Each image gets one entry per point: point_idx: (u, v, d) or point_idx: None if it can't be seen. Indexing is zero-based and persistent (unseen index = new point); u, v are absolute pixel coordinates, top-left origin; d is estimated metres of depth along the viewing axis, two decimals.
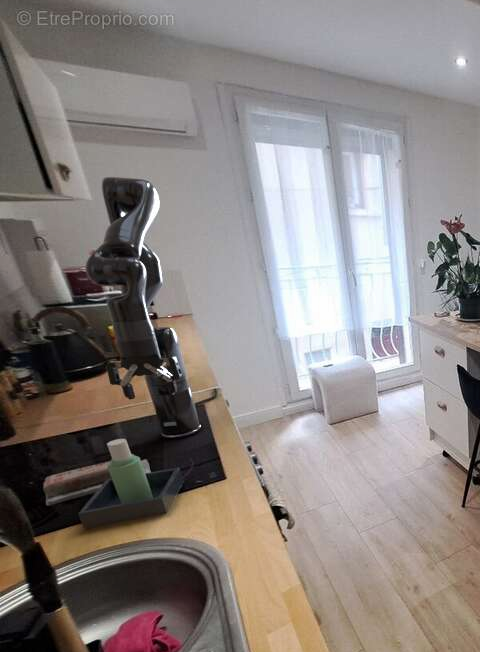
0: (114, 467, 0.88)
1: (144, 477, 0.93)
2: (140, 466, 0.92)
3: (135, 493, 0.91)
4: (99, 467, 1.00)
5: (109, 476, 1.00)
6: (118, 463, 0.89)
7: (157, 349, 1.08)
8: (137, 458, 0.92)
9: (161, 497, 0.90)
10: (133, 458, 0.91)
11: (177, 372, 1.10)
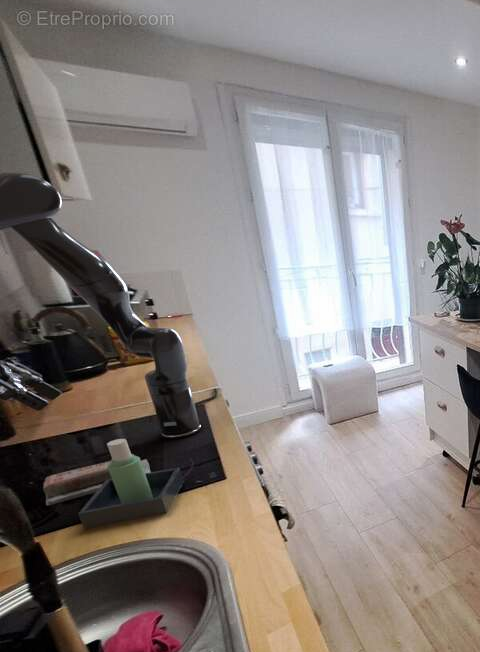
0: (114, 467, 0.88)
1: (144, 477, 0.93)
2: (140, 466, 0.92)
3: (135, 493, 0.91)
4: (99, 467, 1.00)
5: (109, 476, 1.00)
6: (118, 463, 0.89)
7: None
8: (137, 458, 0.92)
9: (161, 497, 0.90)
10: (133, 458, 0.91)
11: None
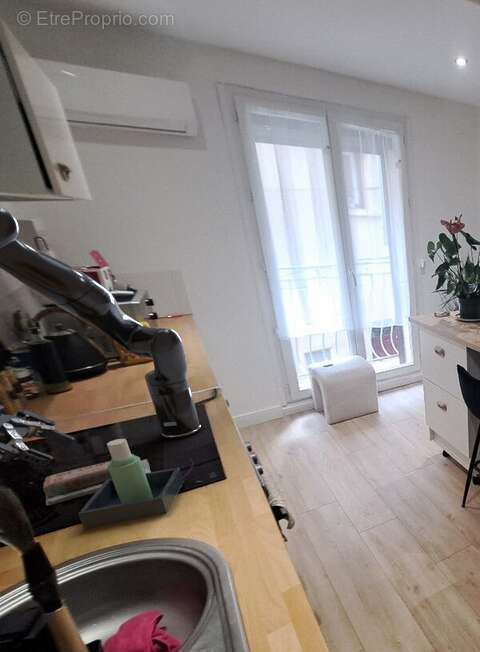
0: (114, 467, 0.88)
1: (144, 477, 0.93)
2: (140, 466, 0.92)
3: (135, 493, 0.91)
4: (99, 467, 1.00)
5: (109, 476, 1.00)
6: (118, 463, 0.89)
7: None
8: (137, 458, 0.92)
9: (161, 497, 0.90)
10: (133, 458, 0.91)
11: None
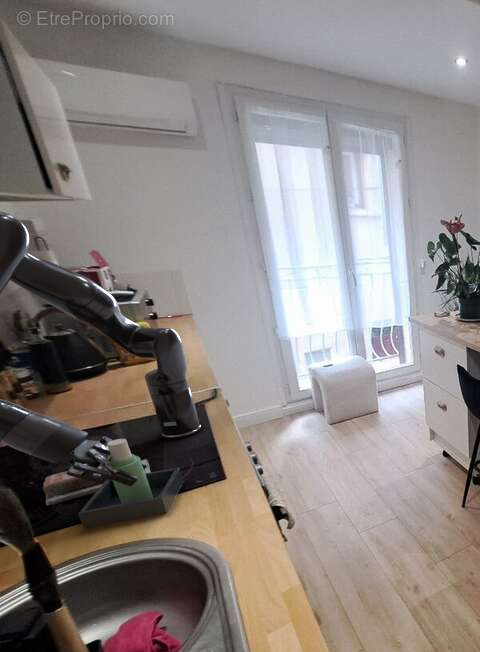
0: None
1: (144, 477, 0.93)
2: (140, 466, 0.92)
3: (135, 493, 0.91)
4: None
5: None
6: (118, 463, 0.89)
7: (56, 455, 0.82)
8: (137, 458, 0.92)
9: (161, 497, 0.90)
10: (133, 458, 0.91)
11: None
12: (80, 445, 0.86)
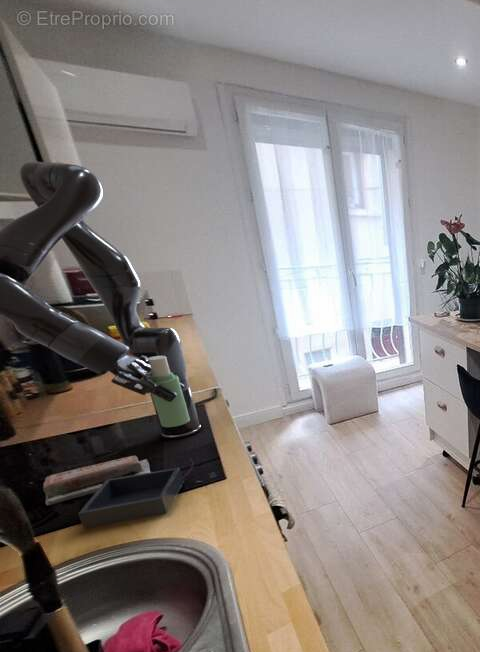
0: None
1: (182, 396, 0.95)
2: (178, 384, 0.94)
3: (174, 410, 0.93)
4: (99, 467, 1.00)
5: (109, 476, 1.00)
6: (158, 378, 0.91)
7: (101, 364, 0.84)
8: (175, 376, 0.94)
9: (161, 497, 0.90)
10: (172, 375, 0.93)
11: (135, 391, 0.86)
12: (122, 358, 0.88)
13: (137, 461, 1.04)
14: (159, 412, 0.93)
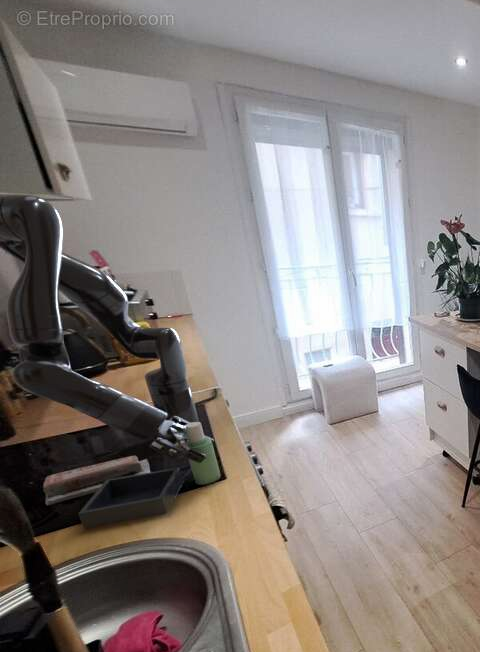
0: (190, 446, 0.99)
1: (214, 457, 1.03)
2: (212, 447, 1.02)
3: (207, 471, 1.02)
4: (99, 467, 1.00)
5: (109, 476, 1.00)
6: (194, 443, 0.99)
7: (144, 432, 0.92)
8: (209, 439, 1.02)
9: (161, 497, 0.90)
10: (206, 439, 1.01)
11: (168, 455, 0.93)
12: (162, 424, 0.96)
13: (137, 461, 1.04)
14: (194, 473, 1.01)
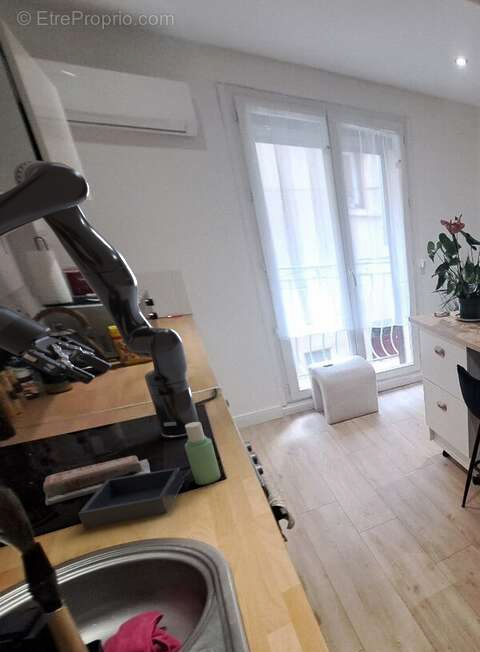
0: (190, 446, 0.99)
1: (214, 457, 1.03)
2: (212, 447, 1.02)
3: (207, 471, 1.02)
4: (99, 467, 1.00)
5: (109, 476, 1.00)
6: (194, 443, 0.99)
7: (17, 344, 0.83)
8: (209, 439, 1.02)
9: (161, 497, 0.90)
10: (206, 439, 1.01)
11: (45, 371, 0.84)
12: (42, 339, 0.87)
13: (137, 461, 1.04)
14: (194, 473, 1.01)
